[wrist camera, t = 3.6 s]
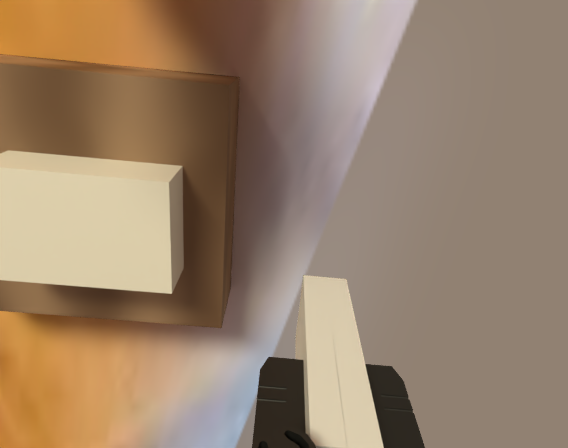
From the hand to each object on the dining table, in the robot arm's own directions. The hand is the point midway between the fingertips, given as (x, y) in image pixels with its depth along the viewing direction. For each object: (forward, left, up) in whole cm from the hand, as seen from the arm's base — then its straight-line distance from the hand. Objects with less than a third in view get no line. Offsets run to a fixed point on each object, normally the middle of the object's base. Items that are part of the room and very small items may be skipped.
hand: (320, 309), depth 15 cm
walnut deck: (-6, -10, -10) cm, 16 cm away
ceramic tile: (-6, -9, -6) cm, 12 cm away
